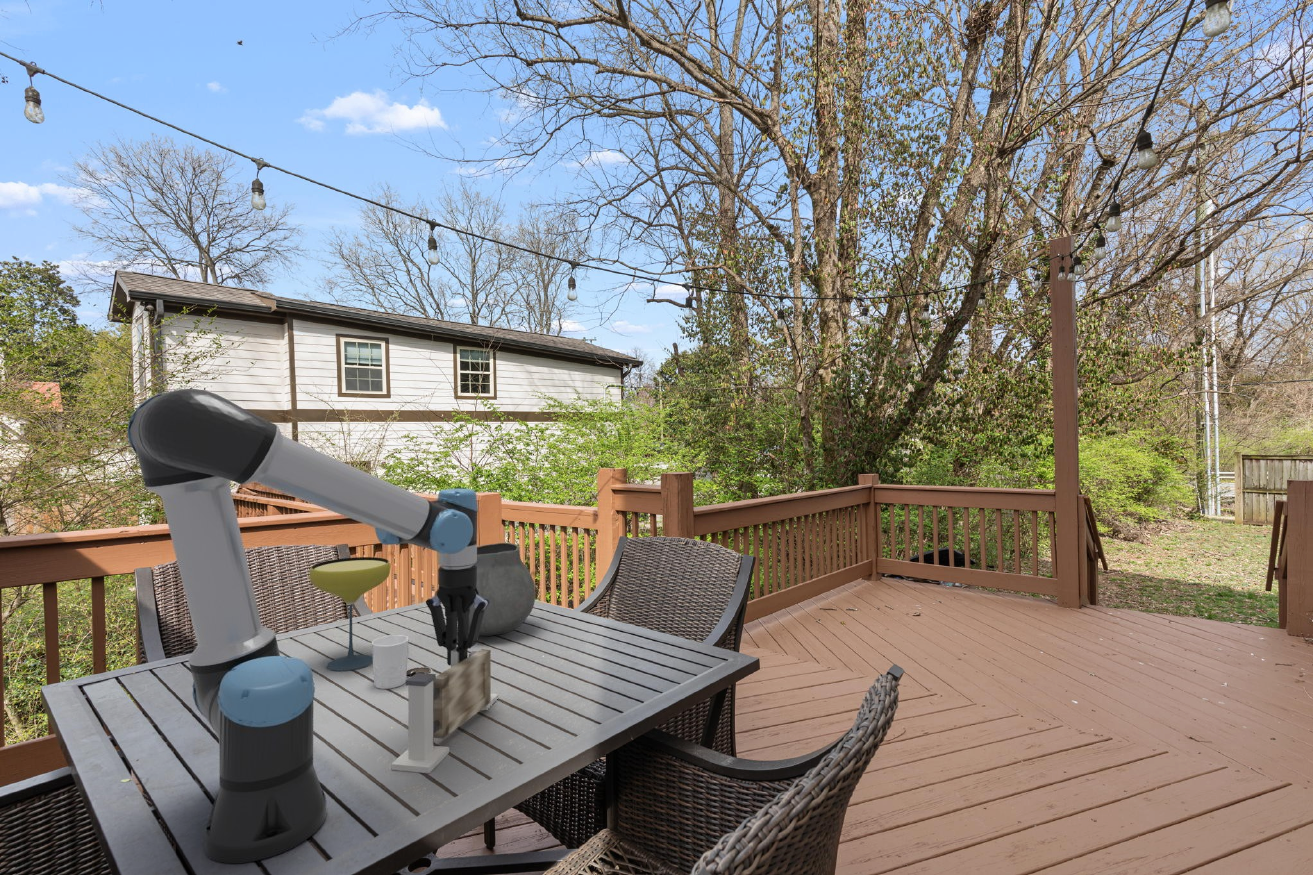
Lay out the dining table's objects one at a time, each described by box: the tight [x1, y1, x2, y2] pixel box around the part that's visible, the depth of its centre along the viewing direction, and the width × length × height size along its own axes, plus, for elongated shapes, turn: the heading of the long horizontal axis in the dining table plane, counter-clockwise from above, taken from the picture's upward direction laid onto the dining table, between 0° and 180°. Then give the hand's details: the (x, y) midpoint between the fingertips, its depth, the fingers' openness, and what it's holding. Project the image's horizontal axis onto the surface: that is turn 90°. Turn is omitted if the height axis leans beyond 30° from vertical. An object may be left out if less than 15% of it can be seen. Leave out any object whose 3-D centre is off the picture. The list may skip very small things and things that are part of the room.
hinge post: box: [390, 672, 450, 774], centre depth 110 cm, size 7×7×15 cm
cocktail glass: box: [309, 556, 391, 672], centre depth 157 cm, size 18×18×25 cm
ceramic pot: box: [457, 542, 536, 637], centre depth 182 cm, size 24×24×25 cm
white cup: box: [371, 634, 410, 690], centre depth 145 cm, size 8×8×10 cm
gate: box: [433, 648, 492, 746], centre depth 122 cm, size 20×2×11 cm, turn 163°
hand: (457, 680), depth 127 cm, fingers closed
